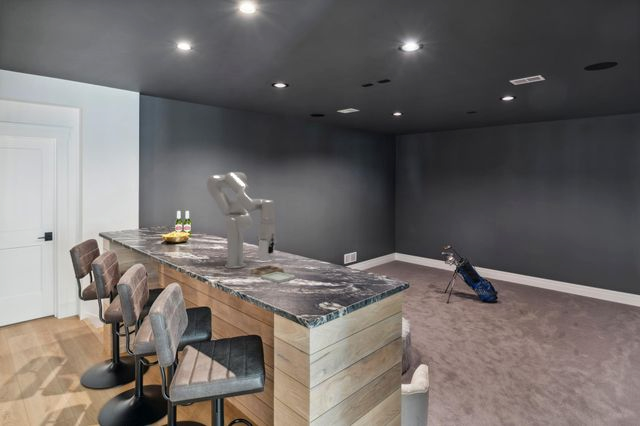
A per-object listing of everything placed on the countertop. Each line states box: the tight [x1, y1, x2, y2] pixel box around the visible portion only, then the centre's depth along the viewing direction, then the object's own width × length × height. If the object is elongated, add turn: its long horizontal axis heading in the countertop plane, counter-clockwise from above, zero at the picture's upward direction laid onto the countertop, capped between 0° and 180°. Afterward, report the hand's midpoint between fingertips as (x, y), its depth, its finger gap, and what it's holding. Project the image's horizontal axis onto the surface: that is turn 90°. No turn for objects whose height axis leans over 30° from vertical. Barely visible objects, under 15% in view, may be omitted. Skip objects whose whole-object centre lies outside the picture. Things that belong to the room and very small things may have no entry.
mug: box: [258, 239, 276, 262], centre depth 216 cm, size 10×7×12 cm, turn 127°
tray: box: [260, 272, 296, 284], centre depth 204 cm, size 14×12×2 cm
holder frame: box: [250, 264, 284, 277], centre depth 217 cm, size 12×14×2 cm
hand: (266, 251), depth 216 cm, fingers closed on mug, 6 cm apart
